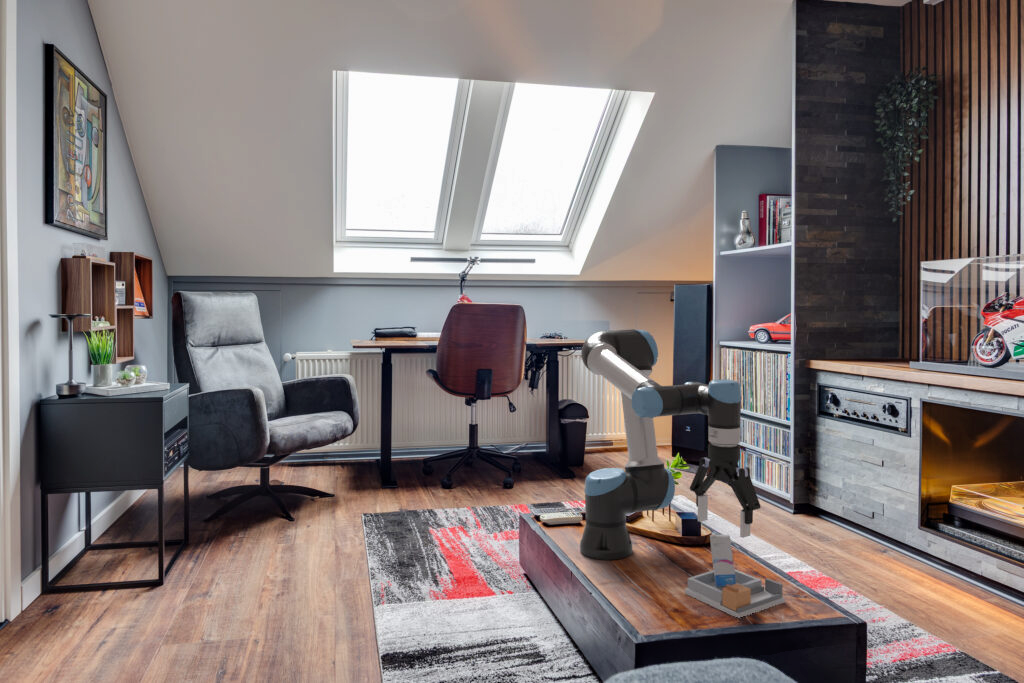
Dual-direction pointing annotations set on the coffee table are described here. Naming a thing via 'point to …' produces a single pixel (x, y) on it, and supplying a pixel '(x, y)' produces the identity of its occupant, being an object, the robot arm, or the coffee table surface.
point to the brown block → (736, 596)
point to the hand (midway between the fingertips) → (723, 528)
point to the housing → (712, 595)
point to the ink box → (722, 560)
